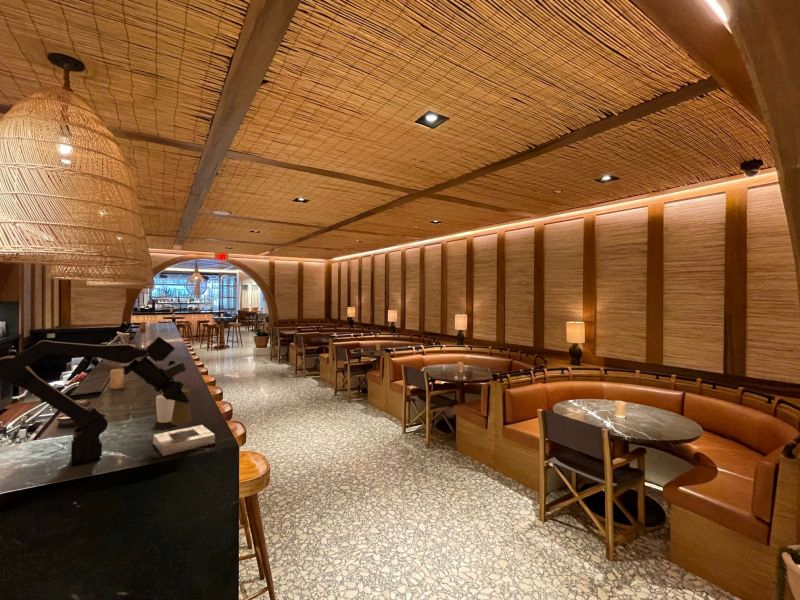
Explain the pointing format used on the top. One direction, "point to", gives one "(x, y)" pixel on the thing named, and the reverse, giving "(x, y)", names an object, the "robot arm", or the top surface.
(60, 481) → the top surface
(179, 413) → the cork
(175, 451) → the socket block
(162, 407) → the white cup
